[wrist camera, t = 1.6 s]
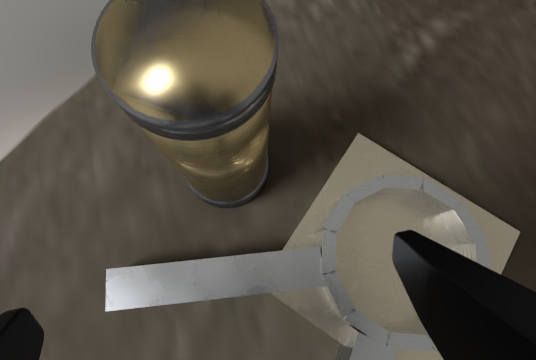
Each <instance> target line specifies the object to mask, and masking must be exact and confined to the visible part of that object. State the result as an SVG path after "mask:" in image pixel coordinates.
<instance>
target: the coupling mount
mask: <svg viewBox="0 0 536 360" xmlns="http://www.w3.org/2000/svg"><path fill="white" fill-rule="evenodd" d="M405 230H413V231H416V232H418V233H420V234H422V235H424V236H426V237H427V238H429V239H431V240H433V241H435V242H437V243H439V244H441V245H443V246H445V247H447V248H449V249H451V250H453V251H455V252H457V253H459V254H461V255H463V256H465V257H467V258H469V259H471V260H473V261H475V262H477V263H479V264H481V265H483V266H485V267H487V268H489V269H491V270H493V271H495V272H497V273H499V274H501V273H502V271H503V269H504V267H505V265H506V262H507V260H508V258H509V256H510V254H511V251H512V249H513V247H514V245H515V243H516V241H517V238H518V236H519V234H520V231H518V230H517V229H515V228H513V227H512V226H510V225H508V224H507V223H505V222H503V221H502V220H500V219H499V218H497V217H495V216H494V215H492V214H490V213H489V212H487V211H485V210H484V209H482V208H481V207H479V206H477V205H476V204H474V203H472V202H471V201H469V200H467V199H466V198H464V197H462V196H461V195H459V194H458V193H456V192H454V191H453V190H451V189H449V188H448V187H446V186H444V185H443V184H441V183H440V182H438V181H436V180H435V179H433V178H431V177H430V176H428V175H426V174H425V173H423V172H422V171H420V170H418V169H417V168H415V167H413V166H412V165H410V164H408V163H407V162H405V161H404V160H402V159H400V158H399V157H397V156H395V155H394V154H392V153H390V152H389V151H387V150H386V149H384V148H382V147H381V146H379V145H377V144H376V143H374V142H372V141H371V140H369V139H368V138H366V137H364V136H363V135H361V134H359V133H358V134H357V135H356V137H355V138H354V140H353V141H352V143H351V145H350V146H349V148H348V149H347V151H346V152H345V154H344V155H343V157H342V158H341V160H340V161H339V163H338V165H337V166H336V168H335V169H334V171H333V172H332V174H331V175H330V177H329V178H328V180H327V182H326V183H325V185H324V186H323V188H322V189H321V191H320V192H319V194H318V195H317V197H316V198H315V200H314V202H313V203H312V205H311V206H310V208H309V209H308V211H307V212H306V214H305V215H304V217H303V219H302V220H301V222H300V223H299V225H298V226H297V228H296V229H295V231H294V232H293V234H292V235H291V237H290V239H289V240H288V242H287V243H286V245H285V246H284V248H283V249H282V251H273V252H263V253H254V254H245V255H235V256H226V257H217V258H207V259H198V260H188V261H179V262H170V263H160V264H151V265H142V266H132V267H123V268H114V269H106V311H114V310H123V309H132V308H140V307H149V306H158V305H167V304H176V303H185V302H193V301H202V300H211V299H220V298H229V297H238V296H246V295H255V294H264V293H271V294H272V295H273V296H275V297H276V298H278V299H279V300H280V301H282V302H283V303H285V304H286V305H288V306H289V307H290V308H292V309H293V310H295V311H296V312H297V313H299V314H300V315H302V316H303V317H304V318H306V319H307V320H309V321H310V322H311V323H313V324H314V325H316V326H317V327H319V328H320V329H321V330H323V331H324V332H326V333H327V334H328V335H330V336H331V337H333V338H334V339H335V340H337V341H338V342H340V343H341V347H340V349H339V352H338V355H337V358H336V360H443V358H442V356H441V355H440V353H439V351H438V350H437V348H436V346H435V345H434V343H433V342H432V340H431V338H430V337H429V335H428V333H427V332H426V330H425V328H424V326H423V325H422V323H421V321H420V319H419V317H418V315H417V313H416V311H415V309H414V307H413V305H412V303H411V301H410V299H409V296H408V294H407V292H406V290H405V288H404V286H403V284H402V282H401V279H400V277H399V275H398V273H397V271H396V269H395V267H394V264H393V261H392V250H393V241H394V235H395V234H396V233H397V232H400V231H405Z"/></svg>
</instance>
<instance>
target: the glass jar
mask: <svg viewBox="0 0 536 360" xmlns="http://www.w3.org/2000/svg"><path fill="white" fill-rule="evenodd" d="M91 54H92V61H93V65H94V68H95V72H96V74H97V76H98V78H99V80H100V82H101V84H102V86H103V87H104V88H105V90H106V91H107V93H108V94H109V95H110V96H111V97H112V98H113V99H114V101H115V102H116V103H117V104H118V105H119V106H120V107H121V109H122V110H123V111H124V112H125V113H126V114H127V115H128V116H129V117H130V118H131V119H132V120H133V121H134V122H135V123H137V124H138V125H139V126H140V127H142V128H143V129H144V131H145V132H146V133H147V134H148V135H149V137H150V138H151V139H152V140H153V141H154V142H155V144H156V145H157V146H158V147H159V148H160V150H161V151H162V152H163V153H164V154H165V155H166V157H167V158H168V159H169V160H170V161H171V163H172V164H173V165H174V166H175V167H176V168H177V170H178V171H179V172H180V173H181V174H182V176H183V177H184V178H185V179H186V181H187V183H188V185H189V186H190V187H191V189H192V190H193V191H194V192H195V193H196V194H197V196H198V197H199V198H200V199H202V200H203V201H204V202H206V203H208V204H210V205H212V206H215V207H219V208H235V207H238V206H241V205H244V204H246V203H248V202H250V201H251V200H252V199H254V198H255V197H256V196H257V195H258V194H259V192H260V191H261V190H262V188H263V186H264V184H265V182H266V178H267V173H268V154H267V153H268V139H269V124H270V109H271V95H272V87H273V84H274V81H275V75H276V67H277V55H278V31H277V25H276V22H275V19H274V16H273V14H272V12H271V10H270V8H269V6H268V4H267V3H266V2H265V0H110V1H109V2H108V3H107V4H106V6H105V7H104V9H103V10H102V12H101V14H100V16H99V18H98V20H97V22H96V25H95V28H94V31H93V36H92V42H91Z"/></svg>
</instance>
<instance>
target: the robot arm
mask: <svg viewBox="0 0 536 360" xmlns="http://www.w3.org/2000/svg"><path fill="white" fill-rule="evenodd" d="M392 261H393V264H394V267H395V269H396V271H397V273H398V275H399V277H400V279H401V282H402V284H403V286H404V288H405V290H406V292H407V294H408V296H409V299H410V301H411V303H412V305H413V307H414V309H415V311H416V313H417V315H418V317H419V319H420V321H421V323H422V325H423V326H424V328H425V330H426V332H427V333H428V335H429V337H430V338H431V340H432V342H433V343H434V345H435V346H436V348H437V350H438V351H439V353H440V355H441V356H442V358H443V360H536V292H534V291H532V290H530V289H528V288H526V287H524V286H522V285H520V284H519V283H517V282H515V281H513V280H511V279H509V278H507V277H505V276H503V275H501V274H499V273H497V272H495V271H493V270H491V269H489V268H487V267H485V266H483V265H481V264H479V263H477V262H475V261H473V260H471V259H469V258H467V257H465V256H463V255H461V254H459V253H457V252H455V251H453V250H451V249H449V248H447V247H445V246H443V245H441V244H439V243H437V242H435V241H433V240H431V239H429V238H427V237H426V236H424V235H422V234H420V233H418V232H416V231H413V230H405V231H400V232H397V233H396V234H395V235H394V241H393V250H392ZM43 341H44V331H43V328H42V327H41V325H40V324H39V323H38V321H37V320H36V319H35V317H34V316H33V315H32V314H31V312H30V311H29V310H28V309H26V308H19V309H14V310H9V311H6V312H4V313H2V314H1V315H0V360H39V358H40V353H41V349H42V345H43Z"/></svg>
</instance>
